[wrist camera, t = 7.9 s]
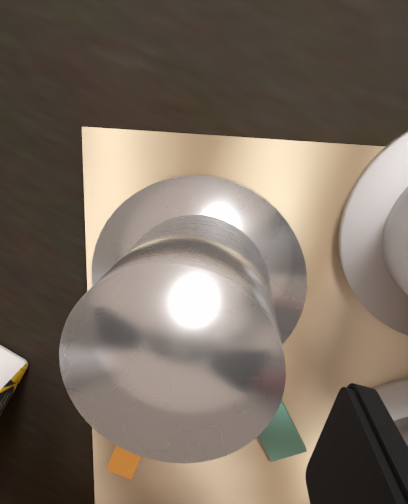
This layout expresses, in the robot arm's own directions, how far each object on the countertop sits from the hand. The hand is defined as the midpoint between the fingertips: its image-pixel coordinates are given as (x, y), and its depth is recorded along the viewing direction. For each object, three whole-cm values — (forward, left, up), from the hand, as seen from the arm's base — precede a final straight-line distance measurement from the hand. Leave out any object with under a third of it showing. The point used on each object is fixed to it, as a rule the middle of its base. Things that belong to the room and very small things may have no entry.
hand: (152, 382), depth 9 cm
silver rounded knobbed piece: (0, +2, -7) cm, 7 cm away
